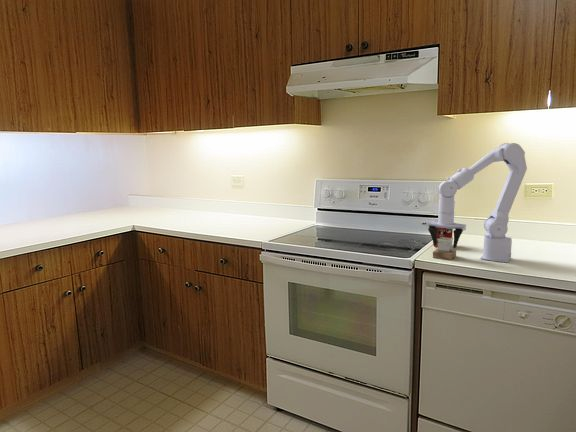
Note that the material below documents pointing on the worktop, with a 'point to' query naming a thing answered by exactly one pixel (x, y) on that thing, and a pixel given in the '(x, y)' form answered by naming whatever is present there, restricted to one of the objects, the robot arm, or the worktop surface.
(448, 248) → the tea tin
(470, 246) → the worktop surface
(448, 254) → the walnut block
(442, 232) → the canned food
